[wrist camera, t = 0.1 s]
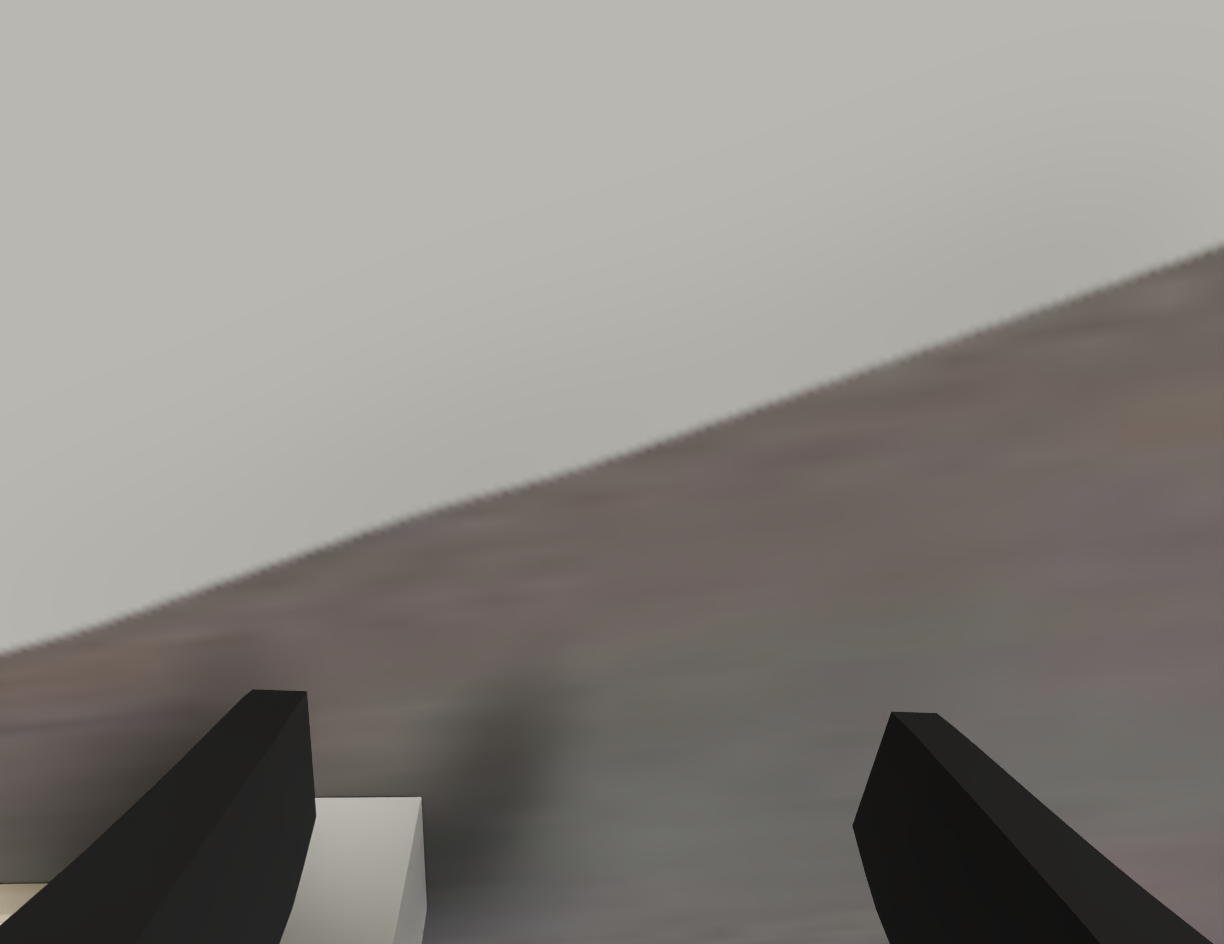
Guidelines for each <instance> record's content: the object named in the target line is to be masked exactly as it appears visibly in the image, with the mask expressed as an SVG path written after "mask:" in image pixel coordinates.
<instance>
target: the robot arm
mask: <svg viewBox="0 0 1224 944" xmlns="http://www.w3.org/2000/svg"><path fill="white" fill-rule="evenodd" d="M315 820H316V804H315V791H314V778H313V765H312V752H311V739H310V726H309V713H308V700H307V691H281V690H252V691H250V692H249V693H248V694H247V695H245V696H244V697H243V698H242V699H241V700H240V701H239V702H238V703H237V704H236V705H235V706H234V707H233V708H232V709H231V710H230V711H229V712H228V713H227V714H226V715H225V716H224V717H223V718H222V719H221V720H220V721H219V722H218V723H217V724H216V725H215V726H214V727H213V728H212V729H211V730H210V731H209V732H208V733H207V734H206V735H205V736H204V737H203V738H202V739H201V740H200V741H199V742H198V743H197V744H196V745H195V746H194V747H193V748H192V749H191V750H190V751H189V752H188V753H187V754H186V755H185V756H184V757H183V758H182V759H181V760H180V761H179V762H178V763H177V764H176V765H175V766H174V767H173V768H172V769H171V770H170V771H169V772H168V773H167V774H166V775H165V776H164V777H163V778H162V779H161V780H160V781H159V782H158V783H157V784H155V785H154V786H153V787H152V788H151V789H150V790H149V791H148V792H147V793H146V794H145V795H144V796H143V797H142V798H141V799H140V800H139V801H138V802H136V803H135V804H134V805H133V806H132V807H131V808H130V809H129V810H128V811H127V812H126V813H125V814H124V815H123V816H122V817H121V818H120V819H118V820H117V821H116V822H115V823H114V824H113V825H112V826H111V827H110V828H109V829H108V830H107V831H106V832H105V833H104V834H103V835H101V836H100V837H99V838H98V839H97V840H96V841H95V842H94V843H93V844H92V845H91V846H90V847H89V848H87V849H86V850H85V851H84V852H83V853H82V854H81V855H80V856H79V857H78V858H76V859H75V860H74V861H73V862H72V863H71V864H70V865H69V866H67V867H66V868H65V869H64V870H63V871H62V872H61V873H59V874H58V875H57V876H56V877H55V878H54V879H53V880H51V881H50V882H49V883H48V884H47V885H46V886H45V887H43V888H42V889H41V890H40V891H39V892H38V893H37V894H35V895H34V896H33V897H32V898H31V899H30V900H29V901H27V902H26V903H25V904H24V905H23V906H22V907H21V908H19V909H18V910H17V911H16V912H15V913H14V914H13V915H11V916H10V917H9V918H8V919H7V920H6V921H5V922H3V923H2V924H1V925H0V944H280V941H281V938H282V936H283V933H284V930H285V927H286V925H287V922H288V919H289V916H290V914H291V911H292V908H293V905H294V901H295V898H296V894H297V890H298V886H299V883H300V879H301V875H302V872H303V868H304V864H305V860H306V856H307V852H308V848H309V844H310V840H311V836H312V832H313V828H314V824H315ZM853 830H854V833H855V837H856V841H857V844H858V848H859V852H860V856H861V859H862V863H863V867H864V871H865V874H866V877H867V881H868V884H869V887H870V891H871V894H872V897H873V901H874V904H875V907H876V910H877V913H878V915H879V918H880V920H881V923H882V925H883V928H884V930H885V933H886V935H887V938H888V940H889V943H890V944H1213V943H1212V942H1210V941H1209V940H1208V939H1207V938H1205V937H1204V936H1203V935H1201V934H1200V933H1199V932H1198V931H1196V930H1195V929H1194V928H1193V927H1191V926H1190V925H1189V924H1188V923H1186V922H1185V921H1184V920H1182V919H1181V918H1180V917H1179V916H1177V915H1176V914H1175V913H1174V912H1172V911H1171V910H1170V909H1168V908H1167V907H1166V906H1165V905H1163V904H1162V903H1161V902H1160V901H1158V900H1157V899H1156V898H1155V897H1153V896H1152V895H1151V894H1149V893H1148V892H1147V891H1146V890H1145V889H1143V888H1142V887H1141V886H1140V885H1139V884H1137V883H1136V882H1135V881H1134V880H1132V879H1131V878H1130V877H1129V876H1128V875H1126V874H1125V873H1124V872H1123V871H1121V870H1120V869H1119V868H1118V867H1117V866H1115V865H1114V864H1113V863H1112V862H1111V861H1109V860H1108V859H1107V858H1106V857H1105V856H1103V855H1102V854H1101V853H1100V852H1099V851H1097V850H1096V849H1095V848H1094V847H1093V846H1092V845H1090V844H1089V843H1088V842H1087V841H1086V840H1084V839H1083V838H1082V837H1081V836H1080V835H1079V834H1077V833H1076V832H1075V831H1074V830H1073V829H1072V828H1070V827H1069V826H1068V825H1067V824H1066V823H1065V822H1063V821H1062V820H1061V819H1060V818H1059V817H1058V816H1056V815H1055V814H1054V813H1053V812H1052V811H1051V810H1049V809H1048V808H1047V807H1046V806H1045V805H1044V804H1043V803H1041V802H1040V801H1039V800H1038V799H1037V798H1036V797H1035V796H1033V795H1032V794H1031V793H1030V792H1029V791H1028V790H1026V789H1025V788H1024V787H1023V786H1022V785H1021V784H1020V783H1018V782H1017V781H1016V780H1015V779H1014V778H1013V777H1012V776H1010V775H1009V774H1008V773H1007V772H1006V771H1005V770H1004V769H1002V768H1001V767H1000V766H999V765H998V764H997V763H996V762H994V761H993V760H992V759H991V758H990V757H989V756H987V755H986V754H985V753H984V752H983V751H982V750H980V749H979V748H978V747H977V746H976V745H975V744H974V743H972V742H971V741H970V740H969V739H968V738H966V737H965V736H964V735H963V734H962V733H960V732H959V731H958V730H957V729H956V728H954V727H953V726H952V725H951V724H950V723H948V722H947V721H946V720H945V719H943V718H942V717H941V716H939V715H938V714H937V713H914V712H891V715H890V717H889V720H888V723H887V726H886V729H885V732H884V735H883V738H882V741H881V744H880V747H879V750H878V753H877V755H876V758H875V761H874V764H873V767H872V770H871V773H870V776H869V779H868V782H867V785H866V788H865V791H864V793H863V796H862V799H861V802H860V805H859V808H858V811H857V814H856V817H855V820H854V823H853Z"/></svg>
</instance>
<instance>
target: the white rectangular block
mask: <svg viewBox="0 0 1224 944" xmlns="http://www.w3.org/2000/svg"><path fill="white" fill-rule="evenodd" d="M315 804H316V820H315V824H314V828H313V832H312V836H311V840H310V844H309V848H308V852H307V856H306V860H305V864H304V868H303V872H302V875H301V879H300V883H299V886H298V890H297V894H296V898H295V901H294V905H293V908H292V911H291V914H290V916H289V919H288V922H287V925H286V927H285V930H284V933H283V936H282V938H281V941H280V944H422V937H423V931H424V925H425V918H426V912H427V899H426V879H425V860H424V840H423V821H422V801H421V797H362V798H315Z"/></svg>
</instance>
